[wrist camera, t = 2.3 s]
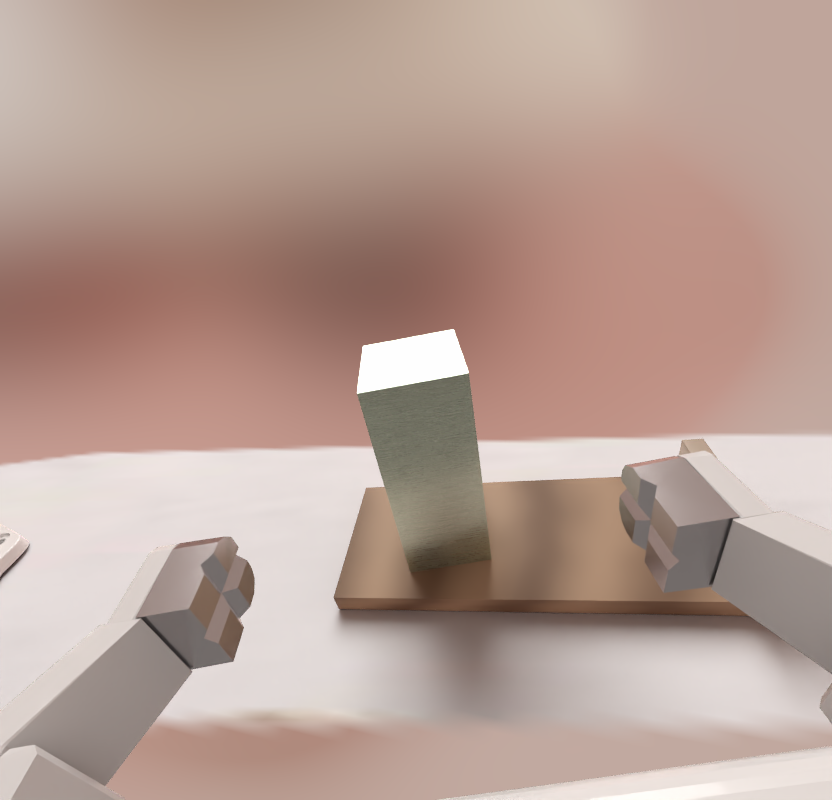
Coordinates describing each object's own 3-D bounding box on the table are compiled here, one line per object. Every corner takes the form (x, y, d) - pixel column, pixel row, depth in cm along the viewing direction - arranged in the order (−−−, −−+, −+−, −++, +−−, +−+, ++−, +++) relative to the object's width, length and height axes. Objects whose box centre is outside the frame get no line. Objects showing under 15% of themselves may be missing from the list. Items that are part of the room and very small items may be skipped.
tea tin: (491, 559, 25) (468, 373, 18) (410, 572, 25) (356, 393, 18) (476, 497, 29) (453, 328, 22) (407, 508, 30) (363, 345, 23)
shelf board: (339, 608, 25) (318, 566, 23) (369, 498, 33) (356, 458, 31) (791, 616, 21) (820, 564, 18) (707, 486, 28) (721, 437, 26)
